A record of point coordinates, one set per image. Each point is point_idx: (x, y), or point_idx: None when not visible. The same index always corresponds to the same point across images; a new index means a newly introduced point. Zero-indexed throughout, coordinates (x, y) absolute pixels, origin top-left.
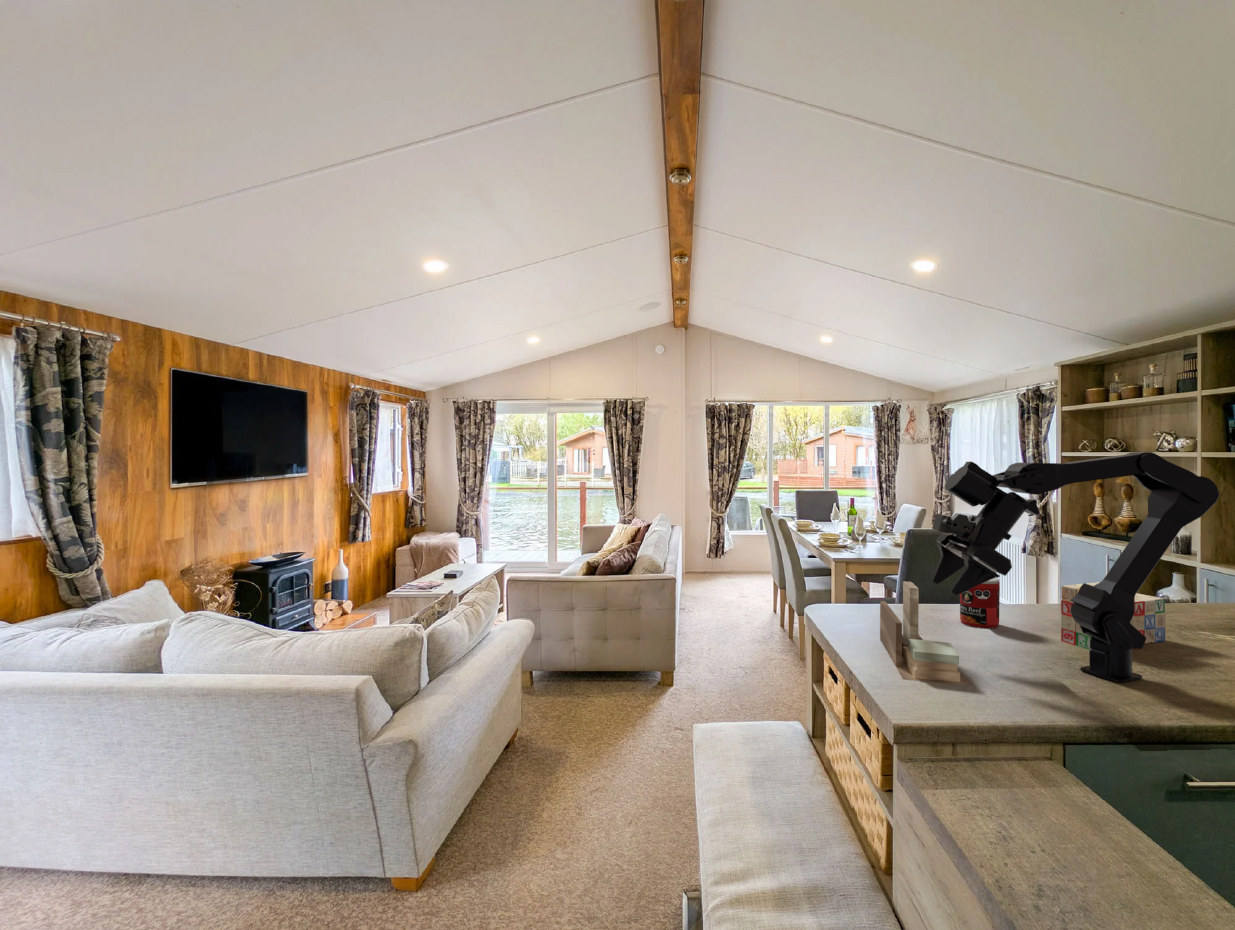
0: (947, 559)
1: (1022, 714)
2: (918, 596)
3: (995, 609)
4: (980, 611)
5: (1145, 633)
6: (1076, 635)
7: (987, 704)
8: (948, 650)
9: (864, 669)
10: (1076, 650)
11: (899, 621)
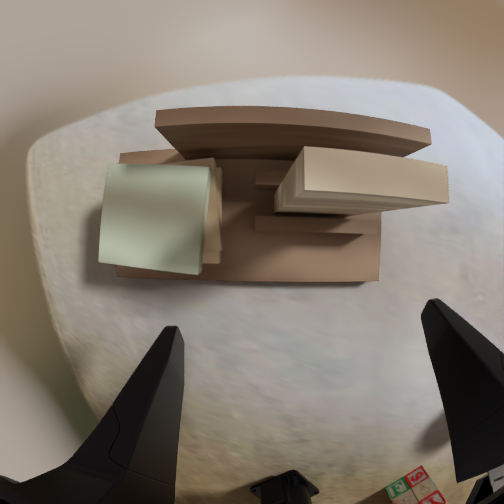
0: (496, 416)
1: (75, 320)
2: (296, 195)
3: None
4: None
5: None
6: (408, 486)
7: (91, 284)
8: (129, 249)
9: (210, 100)
10: (385, 476)
11: (172, 121)
